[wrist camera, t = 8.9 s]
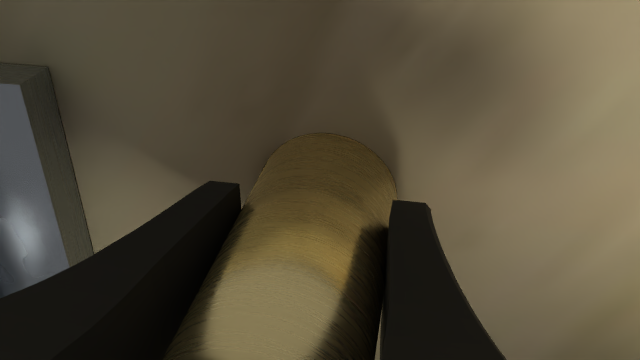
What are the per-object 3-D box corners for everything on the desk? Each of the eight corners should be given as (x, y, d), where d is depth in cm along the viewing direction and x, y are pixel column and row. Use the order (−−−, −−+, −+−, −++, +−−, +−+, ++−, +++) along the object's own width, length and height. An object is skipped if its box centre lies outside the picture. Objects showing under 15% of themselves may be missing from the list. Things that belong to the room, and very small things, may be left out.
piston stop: (401, 139, 12) (359, 417, 7) (392, 257, 14) (351, 561, 8) (257, 127, 13) (104, 375, 7) (263, 242, 14) (142, 520, 9)
